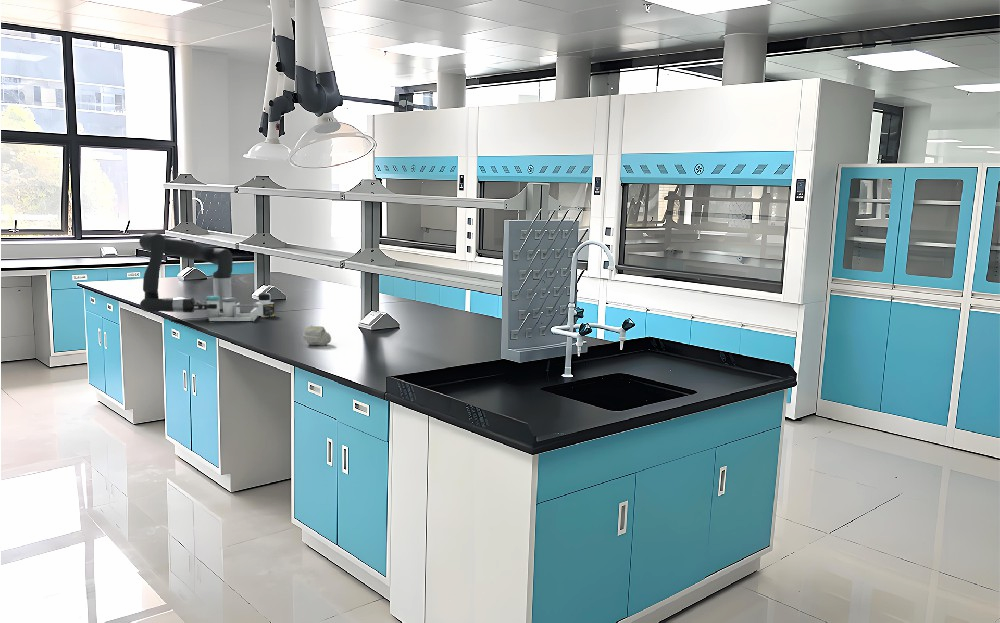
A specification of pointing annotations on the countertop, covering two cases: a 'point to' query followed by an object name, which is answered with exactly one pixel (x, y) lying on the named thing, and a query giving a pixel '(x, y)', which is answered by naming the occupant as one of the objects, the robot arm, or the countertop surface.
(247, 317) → the lane
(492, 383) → the countertop surface
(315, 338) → the grey lumpy stone
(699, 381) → the countertop surface
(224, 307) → the stock jar
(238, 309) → the follower
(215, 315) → the jar
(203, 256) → the robot arm
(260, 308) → the medicine bottle
